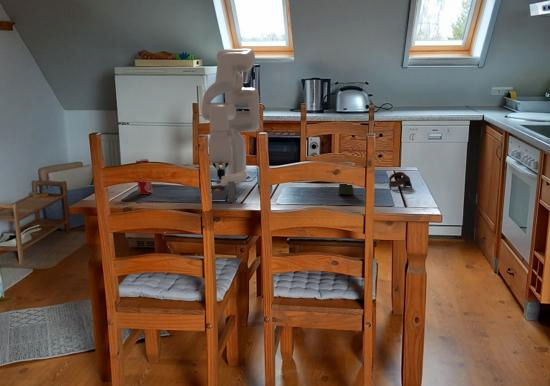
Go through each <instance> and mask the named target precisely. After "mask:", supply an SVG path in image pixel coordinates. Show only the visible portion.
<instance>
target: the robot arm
mask: <svg viewBox="0 0 550 386" xmlns="http://www.w3.org/2000/svg"><path fill="white" fill-rule="evenodd" d="M216 61H217V63H216V64H217V66H216V74H215V80H214V82H213V83H212V84H211V85H210V86H209V87H208V88H207V89H206V91H205V92H204V94H203V97H202V102H201V116H202V118H203V120H204V121H207V122H208V121H209V133H210V135H209V136H210V137H209V138H208V142H207V148H208V147H209V160H210V165H209V166H212V167H214V168H215V169H216V170H217V174H216V175H217V178H219V179H222V178H221V177H222V176H226V175H231V174H235V173H240V172H244V170H246V169H247V155H246V154H247V153H246V139H245V138H244V136H243V135H242V134H241V132H242V133H243V132H246V133H247V132H248V133H249V132H251V133H253V132H257V131H258V130H259V129H260V120H261V117H260V95H259V91H258V90H257V88H255V87H244V77H243V75H242V72H243V73H244V72H249V71H251V69H252V68H253V67H254V65H255V63H256V62H255V61H256V57H255V52H254V50H253V49H251V48H226V49H221V50H218V52H217V53H216ZM220 95H224V100H225V101H224V102H212V101H213V100H214V99H215V98H217V97H218V96H220ZM237 109H248V110H247V111H246V110H244V111H243V110H242V111H241V110H238V111H237ZM220 163H222V166H221V167H220ZM225 170H226V171H225ZM247 174H248V176H250V174H249V173H247Z"/></svg>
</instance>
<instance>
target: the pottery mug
mask: <svg viewBox="0 0 550 386" xmlns="http://www.w3.org/2000/svg"><path fill="white" fill-rule="evenodd" d="M392 179H394V180H392ZM400 186H402V187H403V186H404V187H410V189H411V188H412V189H413V184H412V182H411V179H410V177H409V175H407V174H406V173H405V172H403V171H397V172H396V171H395V172H393V173H392V174H391V175H390V176H389V178H388V188H389V190H392V188H397V187H400Z"/></svg>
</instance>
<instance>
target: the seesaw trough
mask: <svg viewBox="0 0 550 386" xmlns="http://www.w3.org/2000/svg"><path fill="white" fill-rule="evenodd" d="M248 174H249V173H248V171H247V168H246V170H244V172H240V173H235V174H231V175H226V176H222V177H221V178H222V179H219V177H217V179H216V184H217V185H218V184H221V185H220V186H228V181H234V183H236V184H237V183H243V182H246V181H247V179H248V178H247V177H248ZM246 178H247V179H246Z"/></svg>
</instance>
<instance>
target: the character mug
mask: <svg viewBox="0 0 550 386" xmlns="http://www.w3.org/2000/svg"><path fill="white" fill-rule="evenodd" d="M339 163H340V164H347V165H355V164H356V163H355V162H350V161H349V162H346V161H345V162H342V161H341V162H339ZM355 166H356V165H355ZM339 194H340V195H345V196H347V195H348V196H349V195H354V185H353V186H352V185H347V184H340V183H339V185H338V195H339Z"/></svg>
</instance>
